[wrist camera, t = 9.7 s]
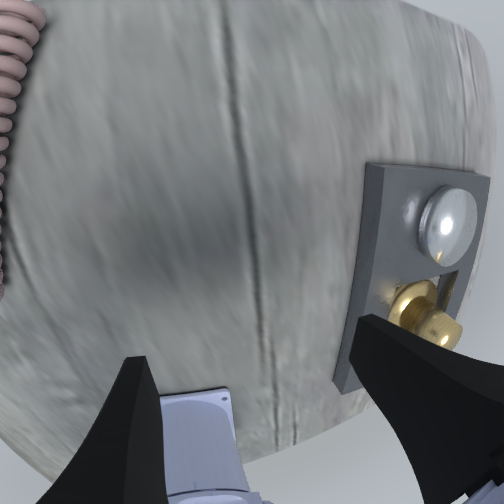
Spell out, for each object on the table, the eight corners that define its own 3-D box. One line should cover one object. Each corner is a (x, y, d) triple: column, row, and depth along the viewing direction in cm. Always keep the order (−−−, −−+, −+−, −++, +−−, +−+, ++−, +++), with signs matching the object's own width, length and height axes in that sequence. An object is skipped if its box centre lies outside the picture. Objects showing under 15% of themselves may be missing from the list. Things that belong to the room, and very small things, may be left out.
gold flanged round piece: (420, 324, 27) (457, 358, 21) (373, 342, 25) (410, 384, 20) (435, 269, 24) (481, 301, 18) (386, 282, 23) (435, 323, 17)
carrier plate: (431, 342, 29) (449, 359, 26) (332, 381, 26) (348, 406, 23) (474, 172, 21) (502, 181, 18) (365, 162, 18) (400, 171, 15)
